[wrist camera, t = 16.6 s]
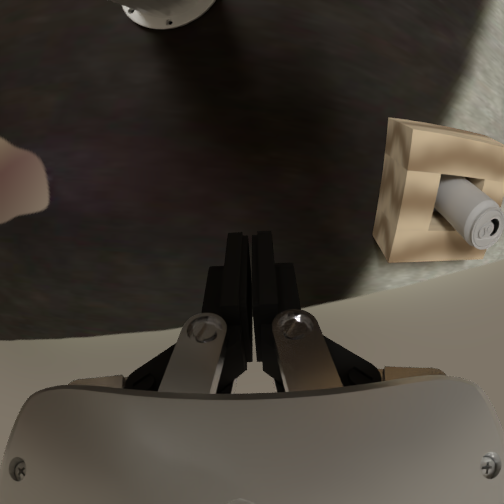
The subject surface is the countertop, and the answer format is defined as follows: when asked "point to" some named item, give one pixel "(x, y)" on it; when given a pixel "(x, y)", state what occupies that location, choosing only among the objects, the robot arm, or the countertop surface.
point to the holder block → (430, 189)
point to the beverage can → (469, 211)
